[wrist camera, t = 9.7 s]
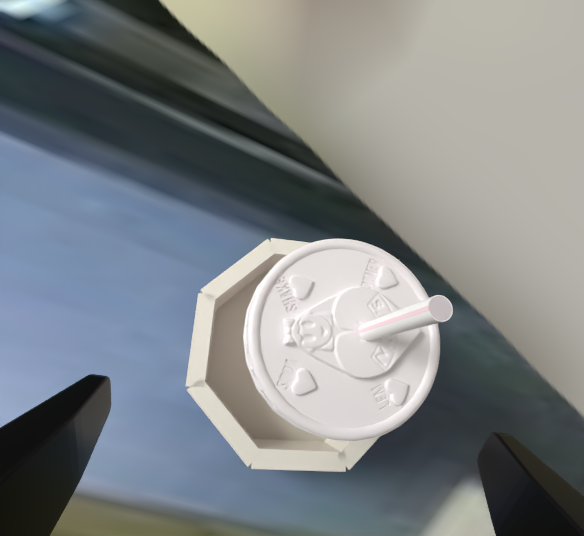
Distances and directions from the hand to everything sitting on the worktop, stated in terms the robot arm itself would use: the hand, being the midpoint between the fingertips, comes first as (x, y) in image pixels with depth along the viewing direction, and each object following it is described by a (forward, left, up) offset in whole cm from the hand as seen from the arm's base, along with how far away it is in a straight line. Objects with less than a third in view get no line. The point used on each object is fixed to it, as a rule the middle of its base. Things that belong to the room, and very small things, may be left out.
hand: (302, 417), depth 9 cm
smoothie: (0, -3, -12) cm, 12 cm away
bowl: (0, -3, -13) cm, 13 cm away
